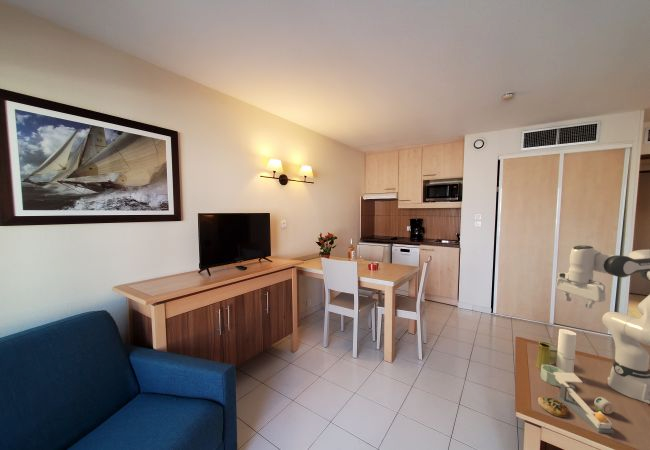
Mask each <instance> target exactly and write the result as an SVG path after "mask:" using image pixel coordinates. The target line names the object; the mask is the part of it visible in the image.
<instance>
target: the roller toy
mask: <svg viewBox="0 0 650 450" xmlns="http://www.w3.org/2000/svg"><path fill="white" fill-rule="evenodd" d="M593 404H594V406H595V408H596V409H597V410H598V411H597V412H599V411H601V412H602V414H604V415H605V414H606V415H611V414H612V413H614V412H615V411H614V410H615V406H614V404H613V403H612V402H610V401H609V400H608V399H606V398H605V397H603V396H598V397H596V398H595V399H594V401H593Z"/></svg>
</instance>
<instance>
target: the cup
mask: <svg viewBox="0 0 650 450" xmlns="http://www.w3.org/2000/svg"><path fill="white" fill-rule="evenodd" d="M554 372H561V373H565V372H563V371H562V370H561V369H559V368H557V367H556V366H554V365H552V364H550V365H542V366H541V370H540V379H541V380H543V382H545V383H547V384H548V385H551V386H555V387H559V388H561V384H560V383H559V382H558V381H557V380H556V379H555V375H554V374H553V373H554Z"/></svg>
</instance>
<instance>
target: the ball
mask: <svg viewBox="0 0 650 450" xmlns="http://www.w3.org/2000/svg"><path fill="white" fill-rule="evenodd" d="M595 417H596V418H597V419H598V420H599V421H600V422H604V423H606V422H607V419H608V417H607V416H605V414H604V413H602V414H600V413H596V414H595Z"/></svg>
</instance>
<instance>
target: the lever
mask: <svg viewBox="0 0 650 450" xmlns="http://www.w3.org/2000/svg"><path fill="white" fill-rule="evenodd" d="M553 374H554V375H555V379H556V380H557V381H558V382H559V383H560V384H564V385H565V386H566V387H567V394H568V393H569V394H570V395H571V396H572V397H573V398H574V400H575V401H576V402H577V403H578V404H579V405H580V406H581V407H582V408H583V409H584V410H585V411H586V412H587V414H586V416H587V417H588V418H589V419H590V420H591V421H592V422H593V424H594V425H595V426H596V427H597V428H604V429H610V428H611V429H612V428H613V425H614V424H613V423H612V422H611V421H610V420H609V418H607V422H606V423H604V422H600V421H599V420H598V419H597V418H596V417H595V414H596V413H600V414H603V413H602V412H601V411H595V412H594V411H593V410H592V409H591V407H590V406H588V404H587V403H586V402H585V401H584V400H583V399H582V398H581V397H580V396H579V394H578V393H576V391H575V392H574V391H573V390H572V388H571V387H570V386H569V384H576V383H577V384H582V383H583V381H582V380H581V379H580V378H579V377H578V376H577V374H575V373H574V372H573V373H561V372H554V373H553ZM568 383H569V384H568Z"/></svg>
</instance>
